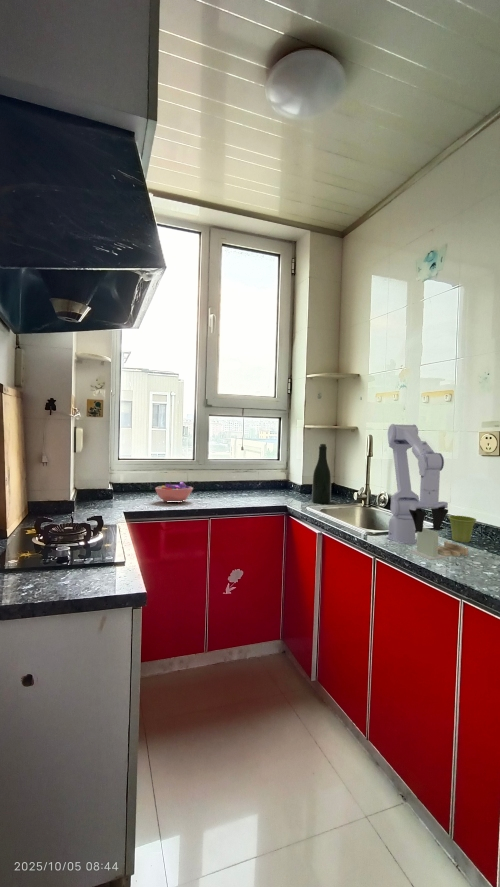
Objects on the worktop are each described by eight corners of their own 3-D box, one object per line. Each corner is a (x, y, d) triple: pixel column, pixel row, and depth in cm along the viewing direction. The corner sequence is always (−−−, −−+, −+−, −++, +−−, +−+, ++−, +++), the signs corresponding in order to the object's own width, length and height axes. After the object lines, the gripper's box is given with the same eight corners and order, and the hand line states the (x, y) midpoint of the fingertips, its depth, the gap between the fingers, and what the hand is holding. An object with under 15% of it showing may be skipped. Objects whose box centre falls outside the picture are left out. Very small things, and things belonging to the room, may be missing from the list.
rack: (436, 549, 148) (436, 542, 148) (446, 548, 150) (446, 541, 150) (457, 557, 140) (457, 549, 140) (467, 555, 142) (468, 548, 141)
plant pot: (480, 544, 157) (481, 520, 157) (455, 543, 157) (456, 520, 156) (466, 537, 166) (467, 515, 166) (443, 537, 166) (443, 515, 166)
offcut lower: (430, 554, 145) (430, 550, 145) (438, 553, 147) (438, 549, 147) (444, 559, 140) (445, 555, 140) (452, 558, 141) (453, 554, 141)
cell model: (155, 499, 234) (156, 479, 234) (192, 499, 238) (192, 479, 237) (154, 505, 217) (154, 483, 217) (193, 505, 221) (194, 483, 221)
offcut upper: (432, 550, 145) (432, 547, 145) (438, 550, 146) (438, 547, 146) (444, 555, 140) (444, 552, 140) (450, 554, 141) (450, 551, 141)
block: (416, 551, 144) (417, 527, 143) (421, 550, 144) (422, 527, 144) (432, 557, 137) (433, 532, 137) (437, 556, 138) (438, 532, 138)
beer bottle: (330, 501, 243) (332, 443, 242) (331, 504, 233) (333, 444, 232) (311, 500, 245) (313, 443, 244) (311, 503, 234) (313, 443, 233)
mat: (408, 552, 144) (408, 550, 144) (424, 550, 146) (424, 549, 146) (429, 560, 135) (429, 558, 135) (445, 558, 138) (445, 556, 138)
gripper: (421, 492, 133) (419, 535, 134) (455, 490, 139) (454, 531, 140) (405, 489, 140) (403, 529, 141) (438, 487, 145) (437, 527, 146)
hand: (427, 530), depth 140 cm, fingers open, 7 cm apart
